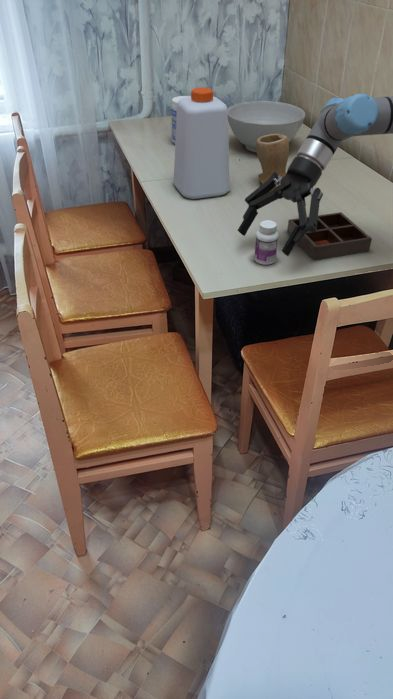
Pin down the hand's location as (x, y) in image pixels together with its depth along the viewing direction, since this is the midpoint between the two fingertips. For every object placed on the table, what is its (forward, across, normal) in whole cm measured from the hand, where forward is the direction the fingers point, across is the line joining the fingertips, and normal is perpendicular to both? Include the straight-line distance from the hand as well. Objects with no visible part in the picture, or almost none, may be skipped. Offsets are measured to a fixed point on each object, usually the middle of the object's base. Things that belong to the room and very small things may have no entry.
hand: (262, 243), depth 128 cm
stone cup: (-23, +27, -30) cm, 46 cm away
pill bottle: (+3, 0, -5) cm, 6 cm away
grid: (-11, -5, -18) cm, 22 cm away
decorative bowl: (-39, +52, -47) cm, 80 cm away
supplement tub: (-28, +74, -36) cm, 87 cm away
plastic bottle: (-10, +41, -18) cm, 46 cm away
